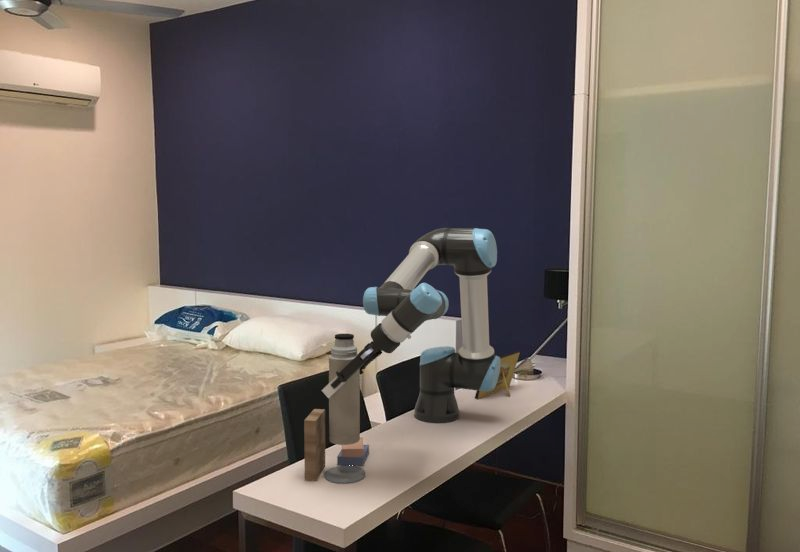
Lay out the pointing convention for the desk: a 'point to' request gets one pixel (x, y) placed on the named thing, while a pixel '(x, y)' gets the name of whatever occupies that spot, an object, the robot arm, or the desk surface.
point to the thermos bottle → (344, 394)
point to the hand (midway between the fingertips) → (332, 389)
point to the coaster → (344, 474)
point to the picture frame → (503, 374)
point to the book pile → (353, 454)
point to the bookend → (314, 444)
